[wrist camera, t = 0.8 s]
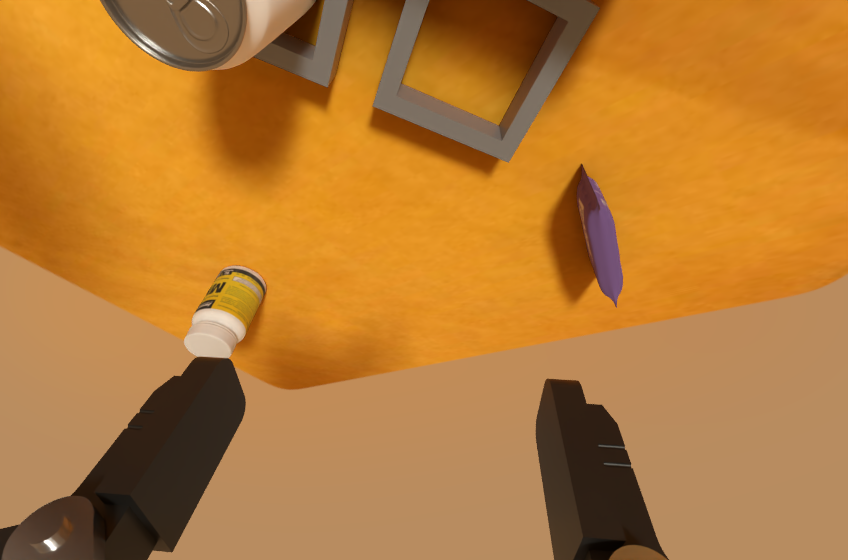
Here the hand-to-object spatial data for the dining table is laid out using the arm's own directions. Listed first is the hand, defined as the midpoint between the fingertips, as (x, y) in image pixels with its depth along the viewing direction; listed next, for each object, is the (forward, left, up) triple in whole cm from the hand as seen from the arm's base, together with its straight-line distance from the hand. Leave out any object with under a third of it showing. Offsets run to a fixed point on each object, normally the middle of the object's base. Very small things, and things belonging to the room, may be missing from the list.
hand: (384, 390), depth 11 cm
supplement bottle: (-10, -25, -24) cm, 36 cm away
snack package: (+17, -5, -24) cm, 30 cm away
